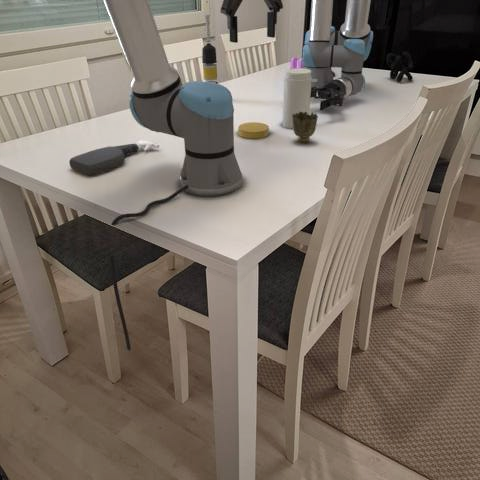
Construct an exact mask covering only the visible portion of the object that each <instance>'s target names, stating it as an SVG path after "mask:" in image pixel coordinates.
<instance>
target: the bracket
mask: <svg viewBox="0 0 480 480" xmlns="http://www.w3.org/2000/svg"><path fill="white" fill-rule="evenodd" d="M289 67H290V68H289V69H293V68H304V65H303V63H302V57H300V58H299V59H298V58H297V57H294V56H292V57H291V59H290V66H289Z"/></svg>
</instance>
